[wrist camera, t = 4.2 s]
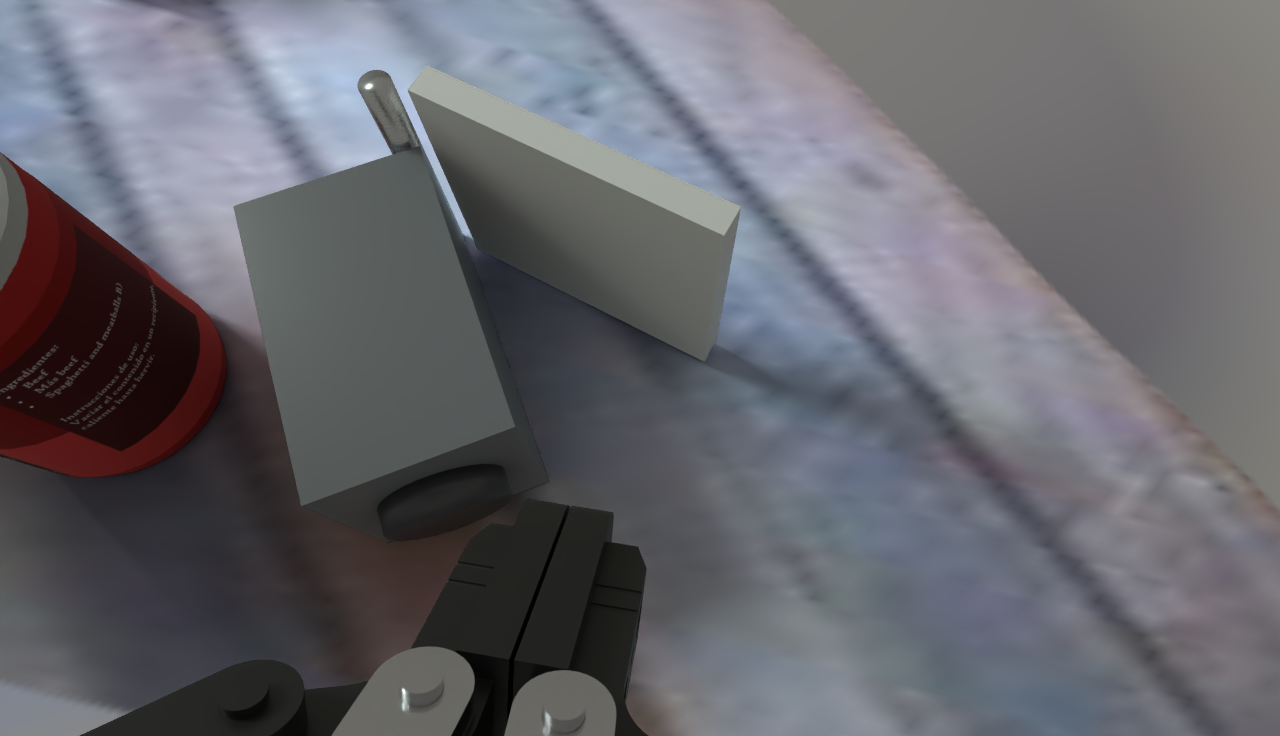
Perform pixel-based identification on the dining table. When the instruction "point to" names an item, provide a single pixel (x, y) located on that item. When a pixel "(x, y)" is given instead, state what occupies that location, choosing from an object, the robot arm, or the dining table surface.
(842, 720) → the dining table surface
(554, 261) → the side door
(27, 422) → the canned food
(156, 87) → the dining table surface
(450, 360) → the block
